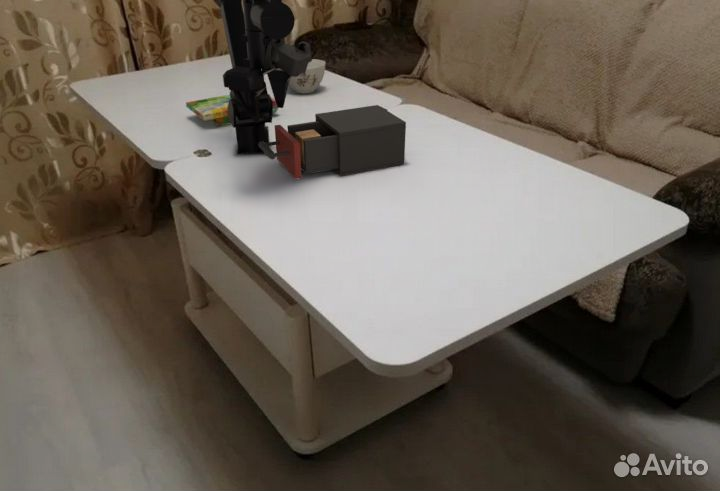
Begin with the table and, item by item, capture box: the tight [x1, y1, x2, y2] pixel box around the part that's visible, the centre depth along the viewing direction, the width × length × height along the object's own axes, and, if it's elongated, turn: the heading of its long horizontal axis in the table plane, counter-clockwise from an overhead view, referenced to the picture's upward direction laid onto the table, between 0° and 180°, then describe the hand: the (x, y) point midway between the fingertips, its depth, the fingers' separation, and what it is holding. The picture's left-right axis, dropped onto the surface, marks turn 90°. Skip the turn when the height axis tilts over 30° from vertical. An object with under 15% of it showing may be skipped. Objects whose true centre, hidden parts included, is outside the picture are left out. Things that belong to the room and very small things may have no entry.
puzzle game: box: [185, 94, 279, 127], centre depth 149 cm, size 12×5×20 cm
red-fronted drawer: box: [258, 120, 339, 180], centre depth 119 cm, size 18×11×7 cm, turn 115°
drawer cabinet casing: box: [314, 104, 407, 177], centre depth 124 cm, size 15×13×9 cm
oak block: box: [295, 129, 321, 165], centre depth 119 cm, size 4×4×6 cm
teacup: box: [288, 58, 327, 94], centre depth 168 cm, size 15×12×8 cm
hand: (268, 114), depth 113 cm, fingers open, 9 cm apart
